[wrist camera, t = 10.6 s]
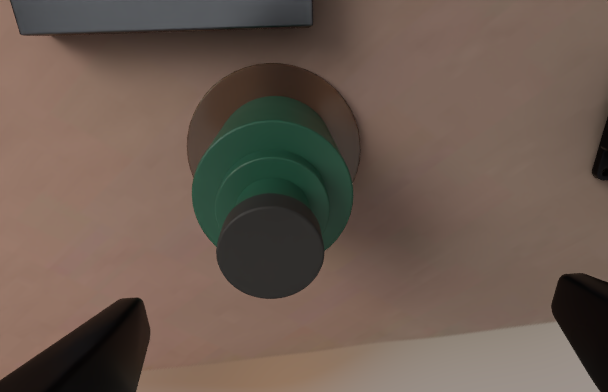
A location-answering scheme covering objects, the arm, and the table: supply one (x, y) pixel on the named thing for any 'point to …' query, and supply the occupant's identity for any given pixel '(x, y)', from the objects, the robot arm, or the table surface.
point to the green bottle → (272, 196)
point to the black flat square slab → (157, 16)
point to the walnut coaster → (273, 83)
